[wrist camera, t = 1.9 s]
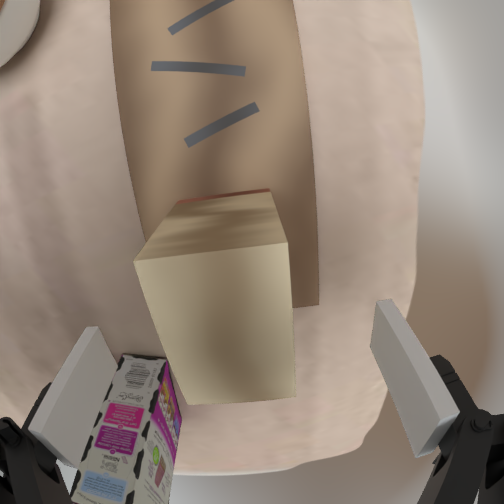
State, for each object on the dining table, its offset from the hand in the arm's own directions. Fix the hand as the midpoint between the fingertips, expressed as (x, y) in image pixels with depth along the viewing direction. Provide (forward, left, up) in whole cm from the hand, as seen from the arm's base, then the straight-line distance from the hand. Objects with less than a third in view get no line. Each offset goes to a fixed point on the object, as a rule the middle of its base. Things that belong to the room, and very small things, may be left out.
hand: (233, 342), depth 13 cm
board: (0, +10, -10) cm, 14 cm away
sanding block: (0, 0, -9) cm, 9 cm away
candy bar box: (-11, -15, -10) cm, 21 cm away
